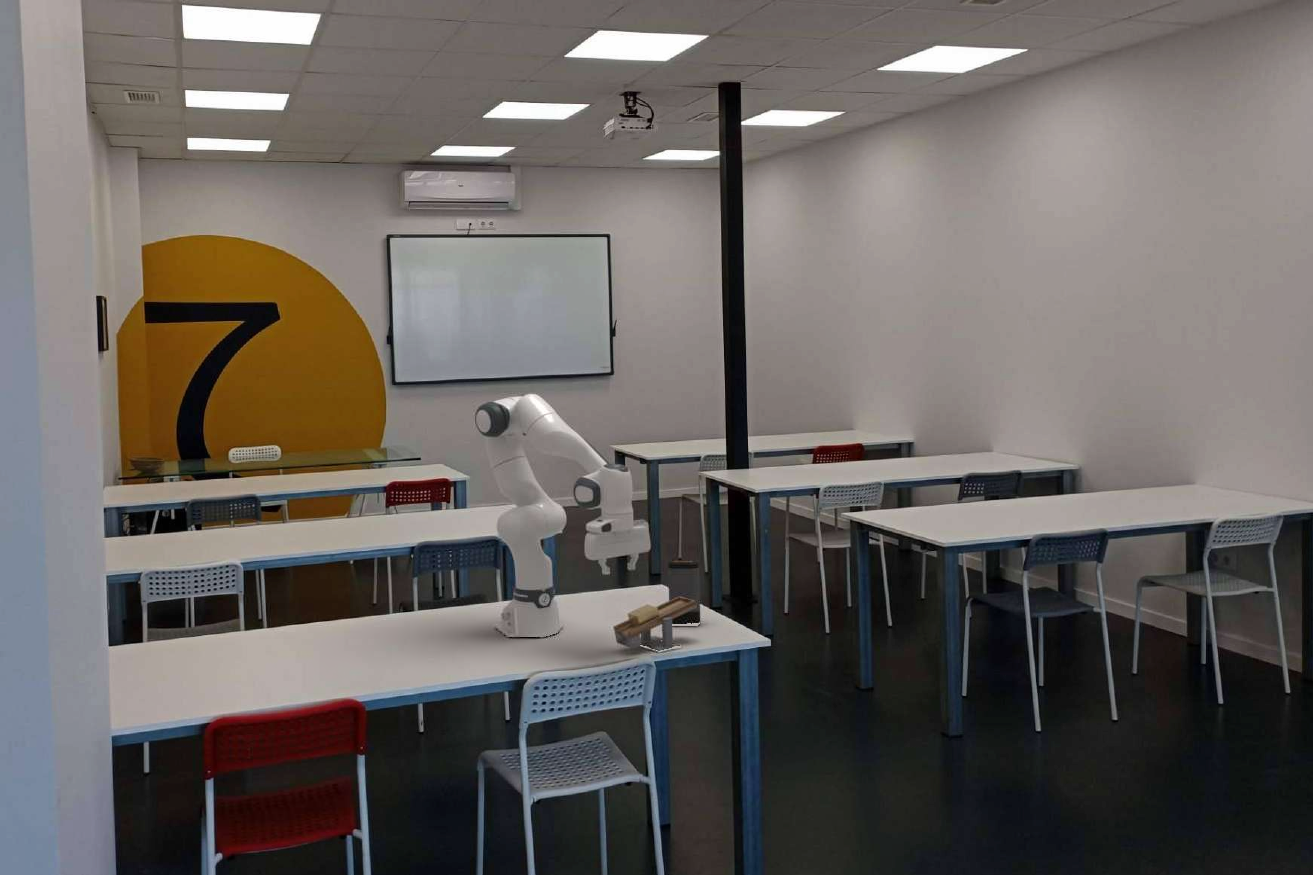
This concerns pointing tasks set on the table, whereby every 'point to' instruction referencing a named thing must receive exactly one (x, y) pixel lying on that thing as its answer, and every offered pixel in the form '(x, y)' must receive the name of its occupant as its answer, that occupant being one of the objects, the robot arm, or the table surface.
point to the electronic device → (685, 587)
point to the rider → (643, 615)
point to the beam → (652, 621)
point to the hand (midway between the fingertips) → (618, 571)
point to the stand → (656, 641)
